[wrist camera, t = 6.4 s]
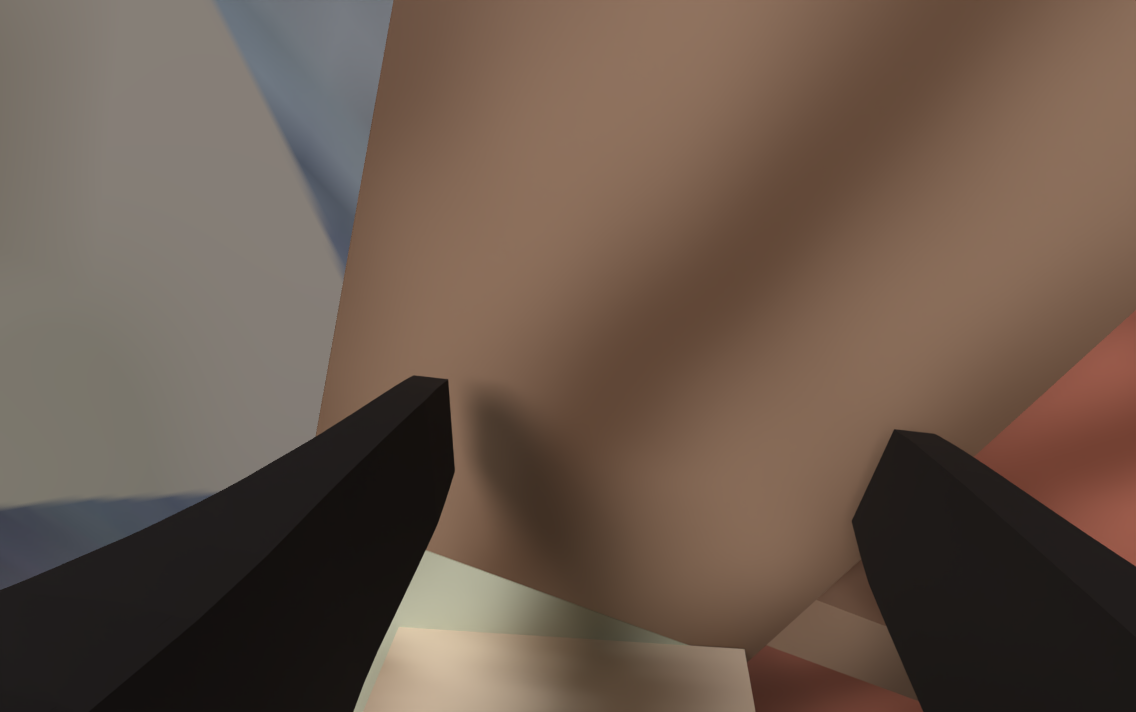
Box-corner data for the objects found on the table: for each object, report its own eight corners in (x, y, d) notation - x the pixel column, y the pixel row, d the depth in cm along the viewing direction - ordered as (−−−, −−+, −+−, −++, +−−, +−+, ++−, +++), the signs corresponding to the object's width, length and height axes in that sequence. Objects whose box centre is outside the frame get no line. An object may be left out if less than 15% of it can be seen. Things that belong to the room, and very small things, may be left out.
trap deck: (1711, 259, 9) (2071, 327, 6) (795, 807, 22) (812, 890, 19) (541, -375, 7) (495, -577, 5) (306, 642, 20) (265, 714, 18)
